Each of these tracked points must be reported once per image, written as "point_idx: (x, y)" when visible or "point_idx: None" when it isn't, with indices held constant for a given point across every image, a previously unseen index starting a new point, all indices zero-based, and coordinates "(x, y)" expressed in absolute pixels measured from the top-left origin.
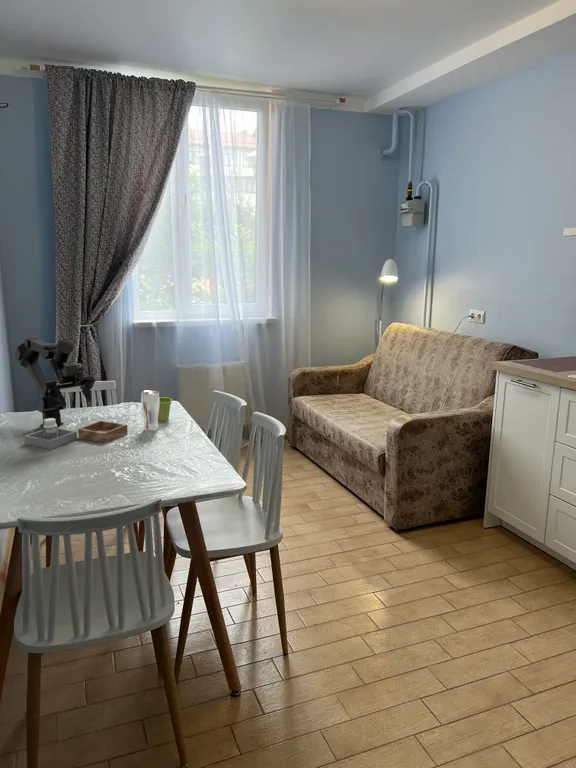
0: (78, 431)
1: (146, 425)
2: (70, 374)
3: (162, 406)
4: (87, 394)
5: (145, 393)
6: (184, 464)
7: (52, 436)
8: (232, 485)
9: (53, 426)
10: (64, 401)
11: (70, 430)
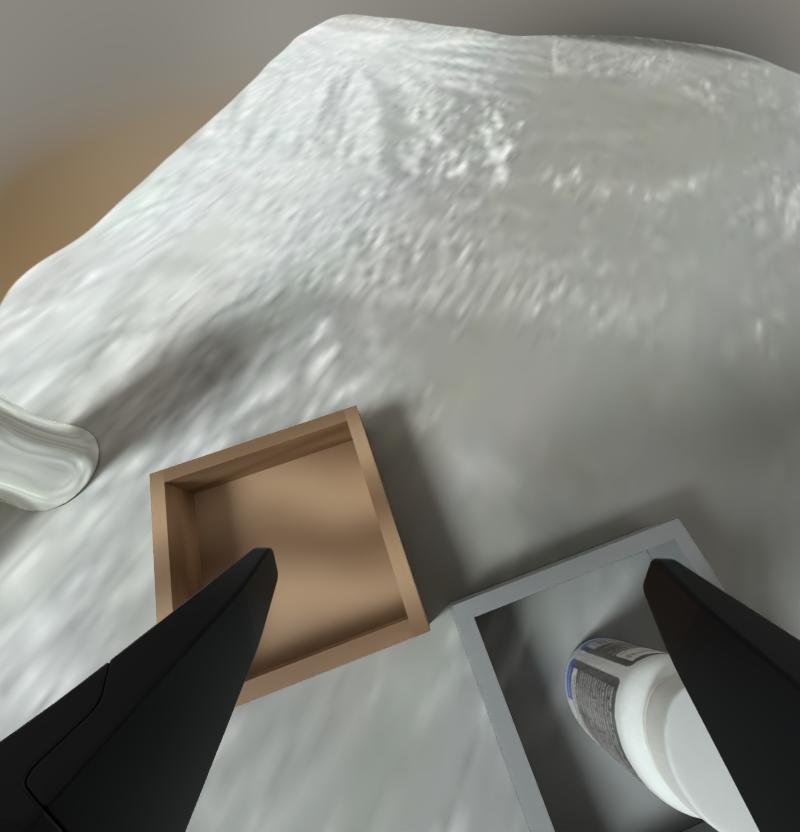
0: (428, 625)
1: (68, 447)
2: None
3: None
4: (204, 639)
5: None
6: (314, 122)
7: (634, 645)
8: (334, 22)
9: (665, 660)
10: (712, 598)
11: (479, 668)
